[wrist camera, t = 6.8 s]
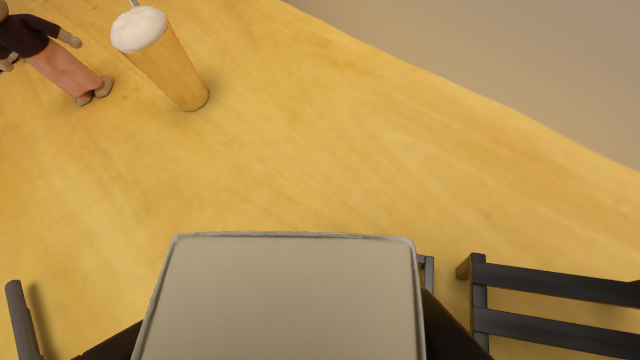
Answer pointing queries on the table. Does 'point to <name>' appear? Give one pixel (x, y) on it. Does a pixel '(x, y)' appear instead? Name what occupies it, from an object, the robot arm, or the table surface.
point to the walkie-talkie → (22, 322)
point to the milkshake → (159, 55)
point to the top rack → (484, 322)
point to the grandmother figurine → (48, 54)
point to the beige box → (285, 298)
